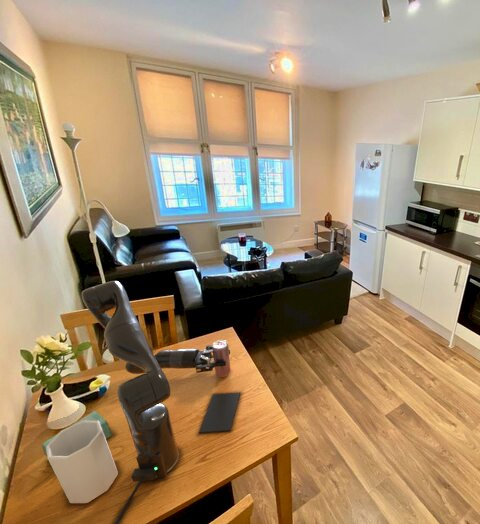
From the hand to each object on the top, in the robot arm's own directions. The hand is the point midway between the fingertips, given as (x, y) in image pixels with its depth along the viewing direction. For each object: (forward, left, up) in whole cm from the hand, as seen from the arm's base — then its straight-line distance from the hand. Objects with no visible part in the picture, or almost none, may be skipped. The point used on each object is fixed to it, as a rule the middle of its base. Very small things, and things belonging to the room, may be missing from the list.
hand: (227, 357), depth 119 cm
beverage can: (0, +3, -8) cm, 9 cm away
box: (-29, +37, -9) cm, 48 cm away
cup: (-40, +27, -9) cm, 49 cm away
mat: (-19, -2, -9) cm, 21 cm away
